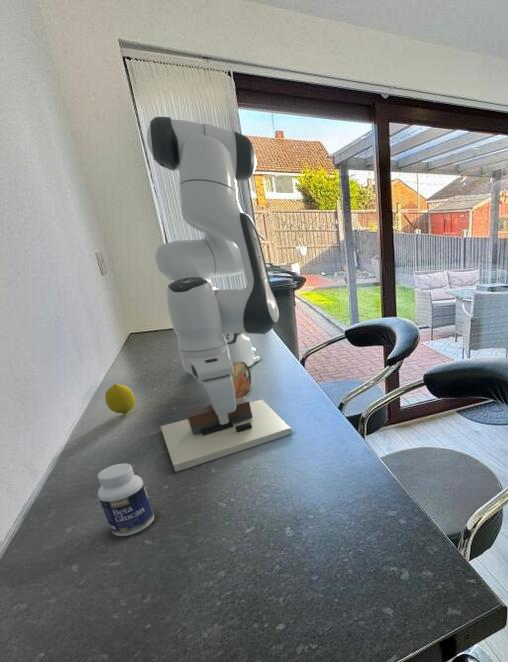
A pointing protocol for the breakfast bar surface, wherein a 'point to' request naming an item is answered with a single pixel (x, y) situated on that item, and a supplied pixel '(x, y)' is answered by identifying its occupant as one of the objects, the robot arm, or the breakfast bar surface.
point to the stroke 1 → (209, 430)
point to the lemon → (119, 399)
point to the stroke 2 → (224, 426)
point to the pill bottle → (124, 500)
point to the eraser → (209, 418)
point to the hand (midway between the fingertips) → (221, 418)
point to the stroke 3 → (243, 427)
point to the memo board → (222, 437)
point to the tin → (241, 379)
